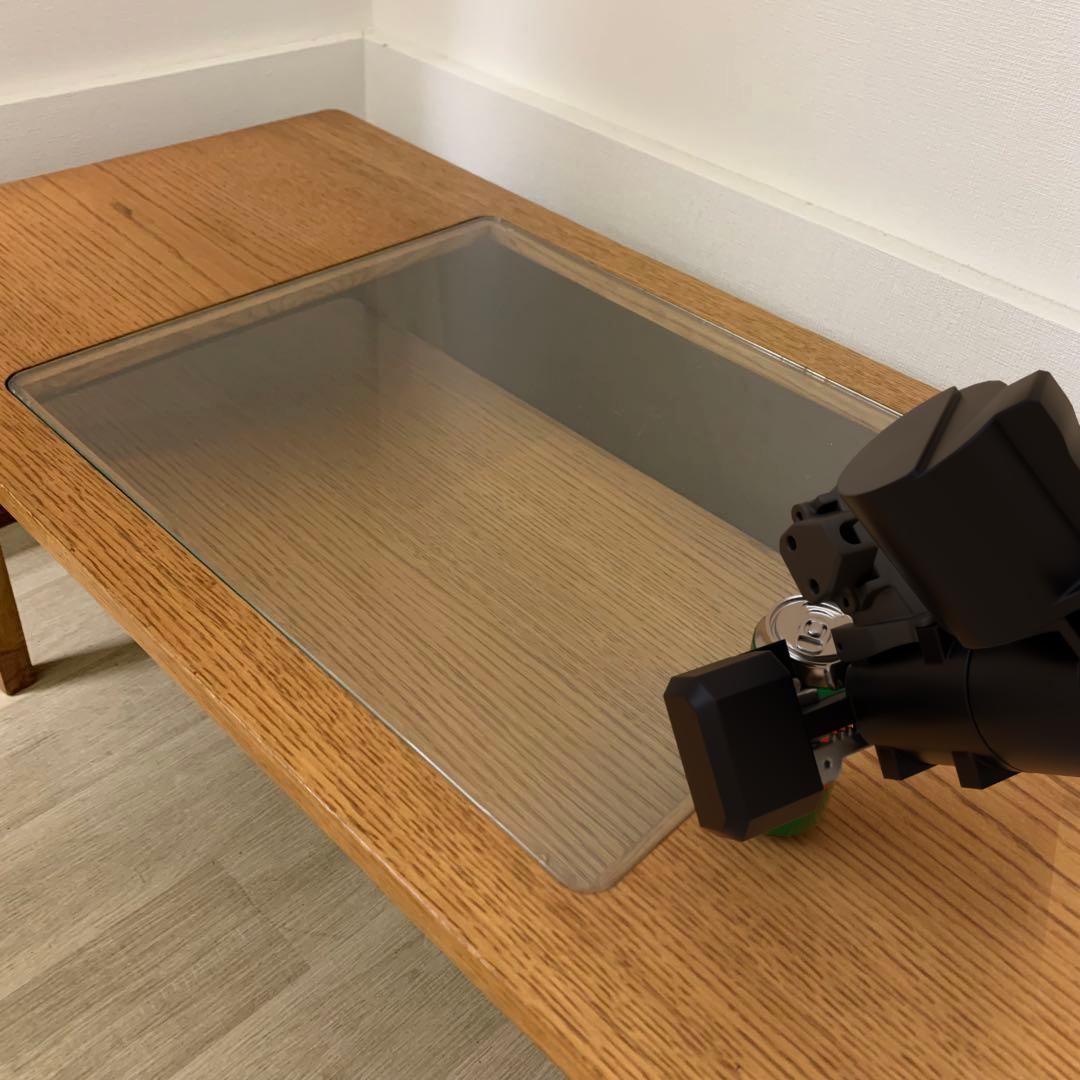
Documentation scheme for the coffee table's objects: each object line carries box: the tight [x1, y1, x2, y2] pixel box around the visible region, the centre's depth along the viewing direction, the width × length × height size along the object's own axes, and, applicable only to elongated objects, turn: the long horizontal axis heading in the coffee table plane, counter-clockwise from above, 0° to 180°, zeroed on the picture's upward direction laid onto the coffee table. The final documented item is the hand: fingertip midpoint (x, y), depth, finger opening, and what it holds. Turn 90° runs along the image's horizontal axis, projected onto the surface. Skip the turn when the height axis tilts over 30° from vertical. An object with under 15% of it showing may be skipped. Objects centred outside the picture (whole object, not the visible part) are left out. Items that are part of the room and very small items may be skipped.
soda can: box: [749, 593, 853, 837], centre depth 52 cm, size 5×5×12 cm
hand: (773, 687), depth 52 cm, fingers closed on soda can, 5 cm apart
